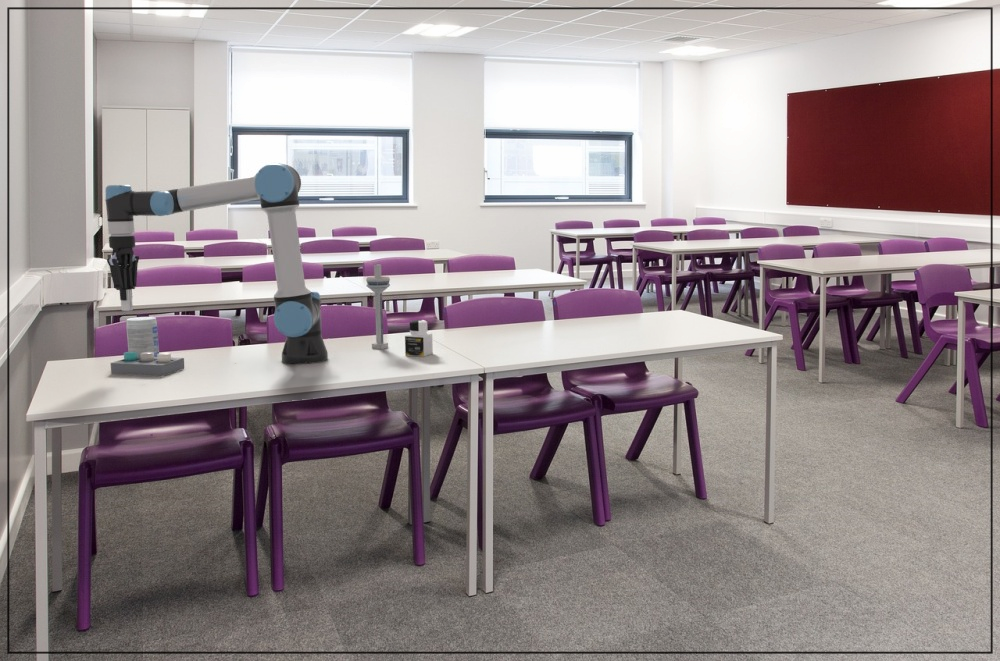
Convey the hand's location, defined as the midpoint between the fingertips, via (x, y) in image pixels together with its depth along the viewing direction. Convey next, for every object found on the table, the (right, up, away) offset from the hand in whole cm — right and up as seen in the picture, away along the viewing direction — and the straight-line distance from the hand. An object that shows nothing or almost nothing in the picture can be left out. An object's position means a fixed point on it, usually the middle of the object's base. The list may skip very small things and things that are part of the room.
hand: (127, 310), depth 280 cm
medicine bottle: (+90, -15, +26) cm, 95 cm away
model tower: (+74, -13, +40) cm, 85 cm away
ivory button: (+12, -17, 0) cm, 20 cm away
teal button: (0, -16, +3) cm, 17 cm away
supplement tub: (-2, -17, +18) cm, 25 cm away
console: (+6, -19, +2) cm, 20 cm away
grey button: (+6, -17, +1) cm, 18 cm away
